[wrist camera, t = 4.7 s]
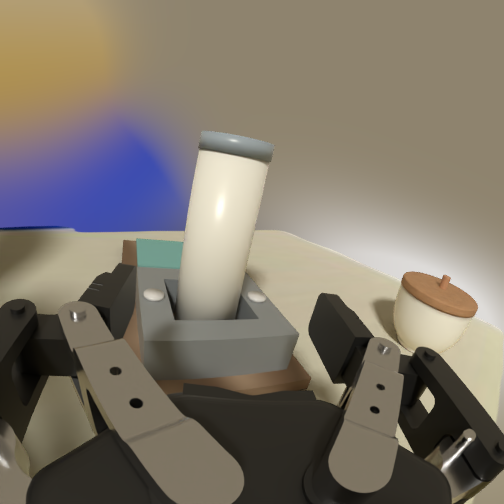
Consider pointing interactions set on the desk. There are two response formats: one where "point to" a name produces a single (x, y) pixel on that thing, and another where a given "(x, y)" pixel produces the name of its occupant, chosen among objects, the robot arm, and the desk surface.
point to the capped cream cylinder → (220, 225)
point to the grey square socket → (208, 333)
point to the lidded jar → (431, 312)
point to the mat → (159, 253)
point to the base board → (245, 384)
